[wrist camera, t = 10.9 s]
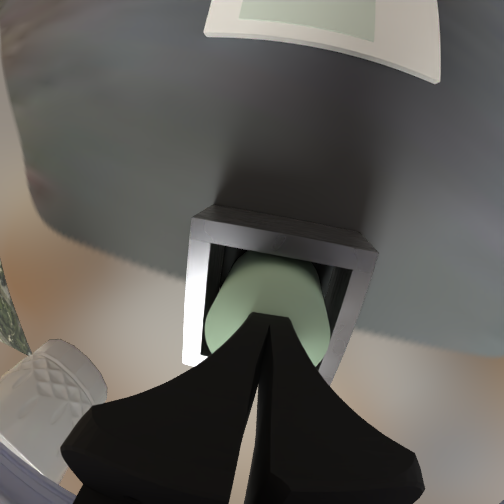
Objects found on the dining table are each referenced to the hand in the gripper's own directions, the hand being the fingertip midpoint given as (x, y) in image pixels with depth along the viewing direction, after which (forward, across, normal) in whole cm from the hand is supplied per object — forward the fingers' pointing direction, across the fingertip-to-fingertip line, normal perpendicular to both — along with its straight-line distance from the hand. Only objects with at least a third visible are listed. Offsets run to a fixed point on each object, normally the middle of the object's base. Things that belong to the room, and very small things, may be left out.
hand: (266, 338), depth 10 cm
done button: (+4, 0, 0) cm, 4 cm away
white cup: (+5, +14, +11) cm, 19 cm away
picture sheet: (+4, -1, -20) cm, 20 cm away
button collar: (+4, 0, 0) cm, 4 cm away
